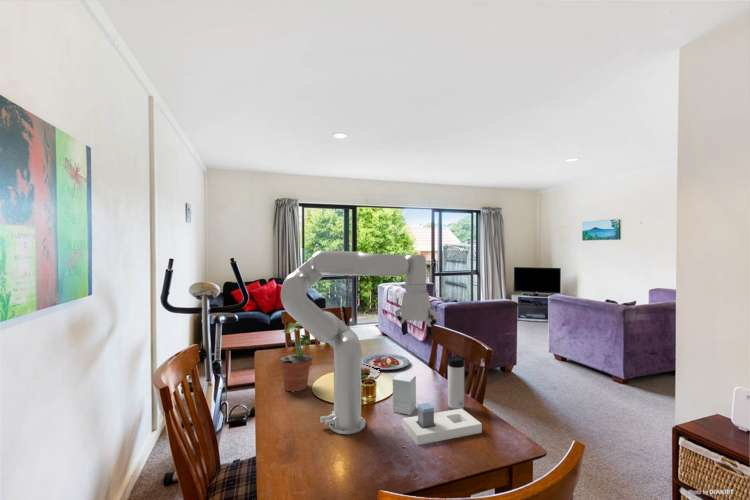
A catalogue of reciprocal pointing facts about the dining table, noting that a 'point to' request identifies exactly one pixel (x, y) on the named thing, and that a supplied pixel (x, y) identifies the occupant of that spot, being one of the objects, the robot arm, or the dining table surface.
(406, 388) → the supplement box
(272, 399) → the dining table surface
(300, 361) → the potted plant
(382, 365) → the ceramic plate
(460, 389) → the travel mug
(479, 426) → the socket panel
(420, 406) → the plug
